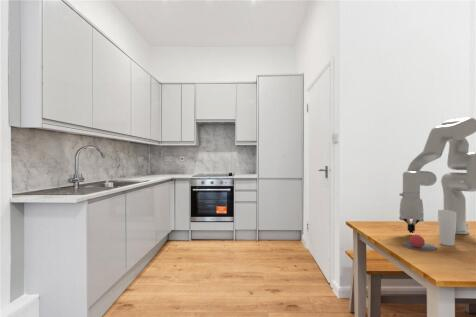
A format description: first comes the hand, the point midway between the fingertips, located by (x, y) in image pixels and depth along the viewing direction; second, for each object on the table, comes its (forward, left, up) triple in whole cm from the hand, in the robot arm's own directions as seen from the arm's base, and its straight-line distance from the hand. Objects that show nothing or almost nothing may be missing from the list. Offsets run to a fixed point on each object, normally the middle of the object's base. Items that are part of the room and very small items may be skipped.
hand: (411, 232), depth 150 cm
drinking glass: (+3, +18, -2) cm, 18 cm away
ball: (+20, +15, +1) cm, 26 cm away
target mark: (+17, +14, -2) cm, 22 cm away
